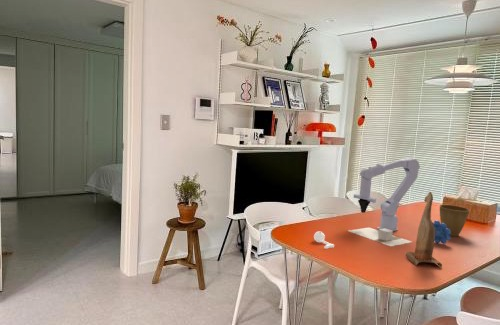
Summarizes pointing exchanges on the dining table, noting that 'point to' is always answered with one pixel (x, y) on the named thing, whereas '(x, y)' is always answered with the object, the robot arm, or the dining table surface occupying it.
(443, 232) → the grapes
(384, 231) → the cream white cube
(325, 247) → the figurine
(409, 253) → the bird sculpture
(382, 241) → the subfloor board
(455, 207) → the plant pot
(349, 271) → the dining table surface
